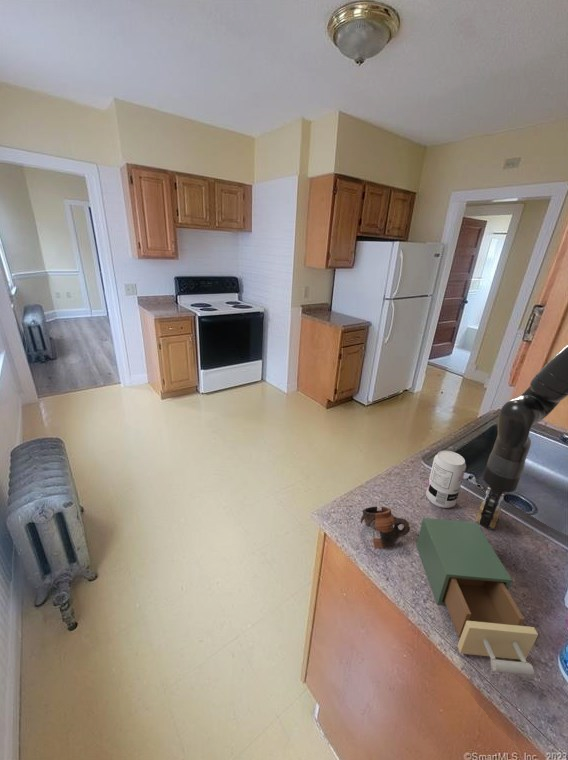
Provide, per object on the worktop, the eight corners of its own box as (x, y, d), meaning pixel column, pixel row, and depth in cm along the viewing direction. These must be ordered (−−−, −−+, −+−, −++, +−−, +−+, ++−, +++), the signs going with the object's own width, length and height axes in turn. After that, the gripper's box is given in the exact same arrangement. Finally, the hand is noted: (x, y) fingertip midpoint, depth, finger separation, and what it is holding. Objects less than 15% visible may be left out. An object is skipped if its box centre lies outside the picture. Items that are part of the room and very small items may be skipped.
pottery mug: (362, 549, 80) (358, 515, 81) (364, 536, 89) (360, 505, 90) (413, 550, 76) (408, 514, 77) (410, 536, 85) (405, 504, 86)
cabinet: (499, 610, 66) (512, 580, 63) (437, 604, 67) (446, 574, 64) (467, 550, 80) (476, 522, 76) (416, 545, 81) (422, 518, 77)
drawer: (542, 692, 53) (557, 666, 51) (471, 684, 54) (482, 658, 51) (487, 587, 70) (496, 563, 67) (433, 582, 71) (440, 558, 68)
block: (479, 511, 92) (483, 499, 90) (497, 519, 89) (501, 507, 88) (475, 520, 89) (479, 508, 87) (493, 529, 86) (498, 516, 85)
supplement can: (422, 488, 100) (431, 448, 95) (450, 491, 99) (461, 450, 94) (429, 507, 93) (440, 464, 87) (459, 511, 92) (472, 467, 86)
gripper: (517, 489, 75) (497, 540, 81) (525, 462, 85) (507, 509, 91) (481, 475, 80) (465, 524, 86) (492, 451, 90) (478, 497, 96)
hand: (487, 517), depth 89 cm, fingers open, 7 cm apart
